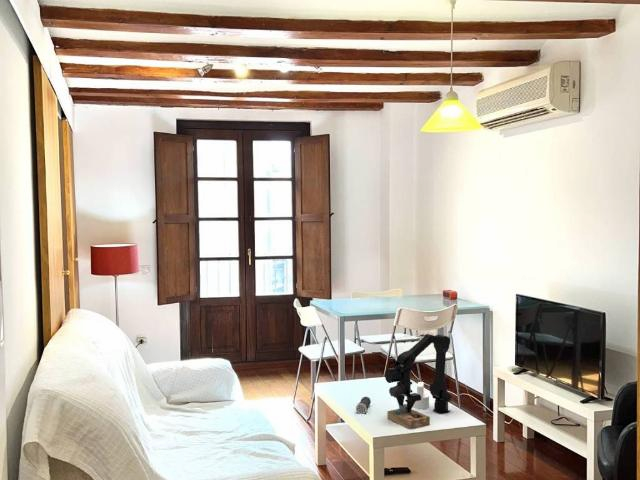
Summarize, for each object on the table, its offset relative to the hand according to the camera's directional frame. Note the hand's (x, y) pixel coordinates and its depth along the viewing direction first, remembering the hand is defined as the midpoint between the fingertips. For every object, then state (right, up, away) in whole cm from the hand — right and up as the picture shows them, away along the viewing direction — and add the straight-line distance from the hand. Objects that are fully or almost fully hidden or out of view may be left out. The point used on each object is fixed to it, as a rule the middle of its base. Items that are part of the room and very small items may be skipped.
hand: (404, 410), depth 324 cm
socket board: (+1, -5, -4) cm, 6 cm away
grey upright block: (0, -4, 0) cm, 4 cm away
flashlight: (-19, -4, +17) cm, 26 cm away
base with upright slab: (+11, -4, +21) cm, 24 cm away
